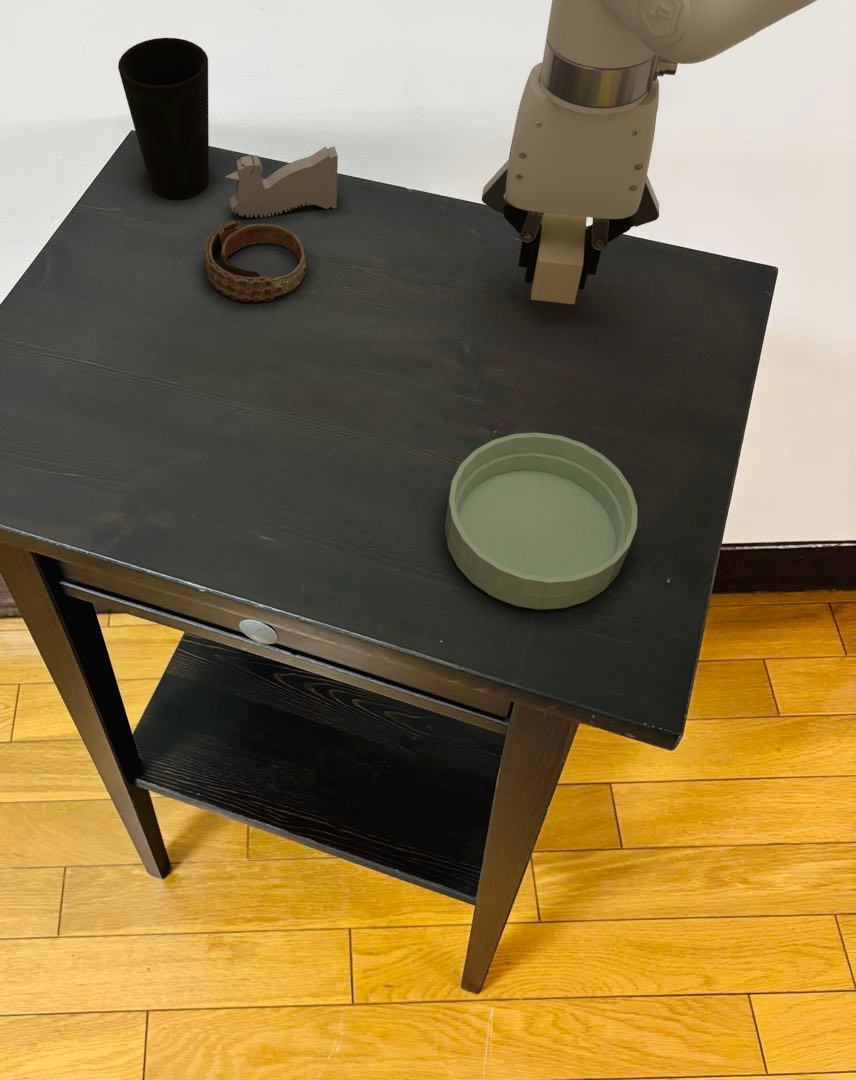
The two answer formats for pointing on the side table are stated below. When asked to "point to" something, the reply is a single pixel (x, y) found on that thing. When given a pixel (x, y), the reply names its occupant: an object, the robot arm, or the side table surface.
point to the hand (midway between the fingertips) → (555, 273)
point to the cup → (170, 113)
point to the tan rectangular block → (559, 258)
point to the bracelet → (246, 281)
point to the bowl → (540, 520)
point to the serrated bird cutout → (285, 185)
